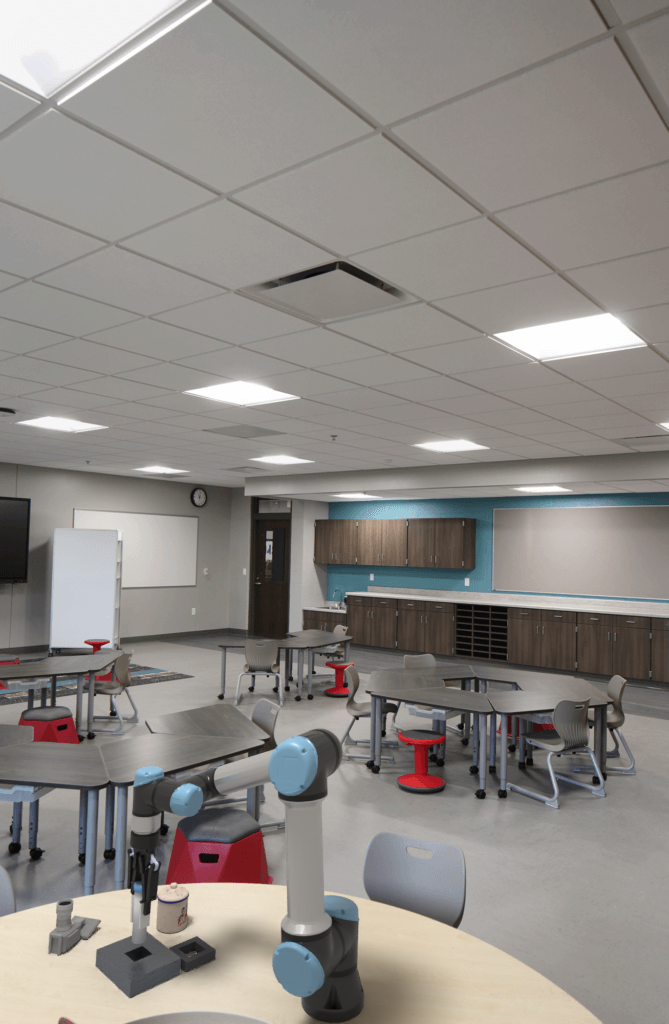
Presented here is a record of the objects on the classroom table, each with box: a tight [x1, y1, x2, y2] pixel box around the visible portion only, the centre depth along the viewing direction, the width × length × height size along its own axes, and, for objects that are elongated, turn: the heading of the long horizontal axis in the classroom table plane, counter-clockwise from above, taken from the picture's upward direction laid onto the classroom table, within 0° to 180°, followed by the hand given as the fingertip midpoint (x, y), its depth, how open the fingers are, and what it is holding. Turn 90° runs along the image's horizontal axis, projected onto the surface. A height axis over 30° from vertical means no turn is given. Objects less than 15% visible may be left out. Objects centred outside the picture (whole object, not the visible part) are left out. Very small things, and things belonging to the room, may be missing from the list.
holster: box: [168, 935, 217, 974], centre depth 173 cm, size 9×9×2 cm
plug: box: [131, 880, 148, 944], centre depth 169 cm, size 4×4×14 cm
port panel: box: [94, 931, 182, 999], centre depth 167 cm, size 18×14×4 cm
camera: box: [47, 898, 102, 956], centre depth 181 cm, size 9×12×15 cm
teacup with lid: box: [155, 882, 190, 934], centre depth 191 cm, size 12×9×12 cm
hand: (139, 923), depth 168 cm, fingers closed on plug, 3 cm apart
